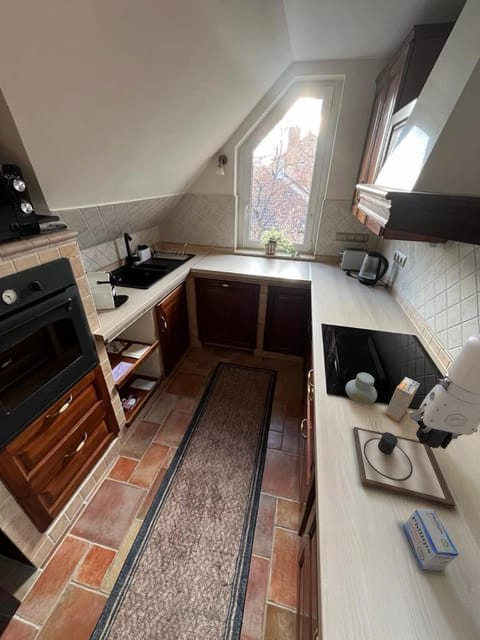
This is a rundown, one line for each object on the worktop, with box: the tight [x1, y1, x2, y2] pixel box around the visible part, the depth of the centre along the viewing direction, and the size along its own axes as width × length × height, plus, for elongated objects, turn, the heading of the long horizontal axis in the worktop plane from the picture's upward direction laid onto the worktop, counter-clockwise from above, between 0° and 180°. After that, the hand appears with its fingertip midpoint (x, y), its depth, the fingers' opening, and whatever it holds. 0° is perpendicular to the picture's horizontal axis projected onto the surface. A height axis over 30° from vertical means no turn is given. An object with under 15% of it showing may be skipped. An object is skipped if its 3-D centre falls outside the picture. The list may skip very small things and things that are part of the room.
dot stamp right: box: [425, 428, 448, 449], centre depth 63 cm, size 4×4×5 cm
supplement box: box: [384, 376, 421, 422], centre depth 88 cm, size 8×5×13 cm, turn 131°
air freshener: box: [345, 372, 378, 405], centre depth 95 cm, size 11×8×10 cm
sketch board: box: [352, 426, 457, 509], centre depth 74 cm, size 22×18×2 cm
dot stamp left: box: [378, 431, 398, 455], centre depth 76 cm, size 4×4×5 cm
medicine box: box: [402, 508, 460, 571], centre depth 55 cm, size 8×4×9 cm, turn 178°
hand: (430, 440), depth 64 cm, fingers closed on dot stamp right, 4 cm apart
